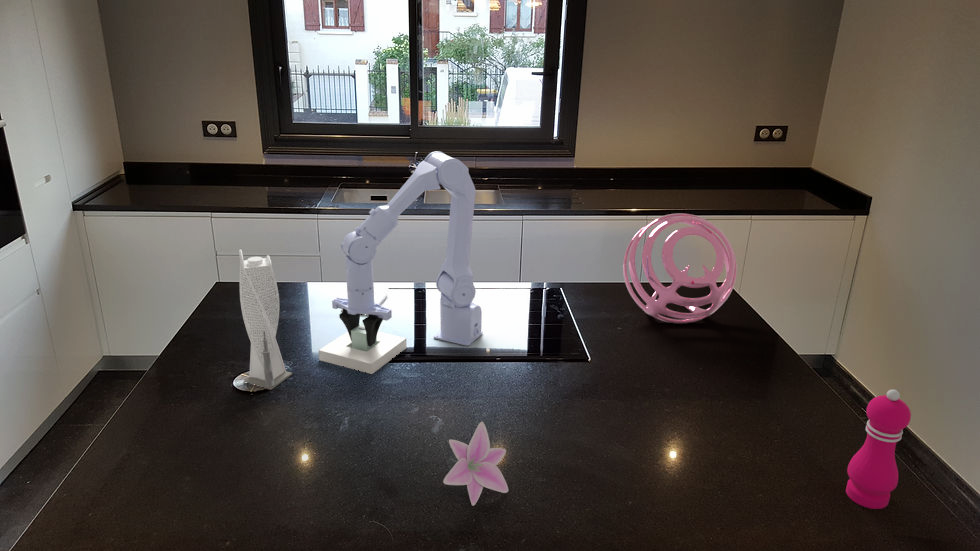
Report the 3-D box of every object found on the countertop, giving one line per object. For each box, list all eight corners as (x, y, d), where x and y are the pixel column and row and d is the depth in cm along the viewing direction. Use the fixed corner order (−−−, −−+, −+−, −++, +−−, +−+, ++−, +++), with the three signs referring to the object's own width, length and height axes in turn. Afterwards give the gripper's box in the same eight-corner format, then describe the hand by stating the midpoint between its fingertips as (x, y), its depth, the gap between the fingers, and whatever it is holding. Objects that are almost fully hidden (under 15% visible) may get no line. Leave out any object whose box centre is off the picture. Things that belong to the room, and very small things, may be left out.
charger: (377, 346, 157) (376, 326, 155) (366, 354, 154) (365, 333, 152) (362, 343, 159) (361, 323, 157) (352, 350, 155) (351, 329, 154)
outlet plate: (406, 347, 160) (406, 338, 159) (371, 374, 148) (371, 363, 147) (356, 335, 165) (356, 326, 164) (319, 360, 153) (318, 350, 152)
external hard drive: (387, 299, 188) (370, 317, 176) (359, 296, 189) (340, 314, 178) (387, 294, 187) (370, 312, 176) (358, 291, 189) (340, 308, 177)
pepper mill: (833, 483, 116) (858, 379, 109) (874, 481, 117) (901, 377, 109) (858, 512, 109) (886, 403, 102) (901, 510, 110) (932, 401, 103)
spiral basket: (627, 219, 193) (652, 184, 167) (723, 247, 192) (765, 218, 166) (601, 313, 187) (624, 293, 160) (701, 343, 186) (741, 328, 159)
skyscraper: (238, 381, 144) (222, 254, 134) (263, 364, 151) (250, 243, 141) (271, 389, 141) (257, 261, 131) (295, 372, 148) (284, 248, 138)
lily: (430, 512, 109) (453, 481, 103) (427, 447, 117) (447, 416, 112) (499, 519, 113) (524, 490, 107) (491, 456, 122) (514, 426, 116)
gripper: (322, 286, 150) (326, 342, 155) (377, 298, 144) (380, 356, 149) (341, 276, 156) (345, 330, 161) (396, 287, 150) (397, 343, 155)
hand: (363, 342), depth 155 cm, fingers closed on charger, 4 cm apart
